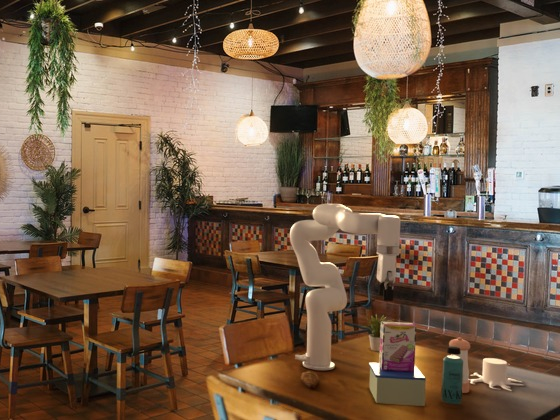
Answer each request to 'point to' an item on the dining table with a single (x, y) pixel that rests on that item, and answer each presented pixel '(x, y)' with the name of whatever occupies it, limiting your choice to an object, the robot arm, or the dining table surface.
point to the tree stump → (495, 374)
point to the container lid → (396, 373)
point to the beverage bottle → (452, 377)
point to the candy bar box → (397, 346)
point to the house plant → (376, 332)
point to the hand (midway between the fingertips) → (385, 297)
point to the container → (397, 390)
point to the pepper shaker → (464, 349)
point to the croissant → (310, 379)
